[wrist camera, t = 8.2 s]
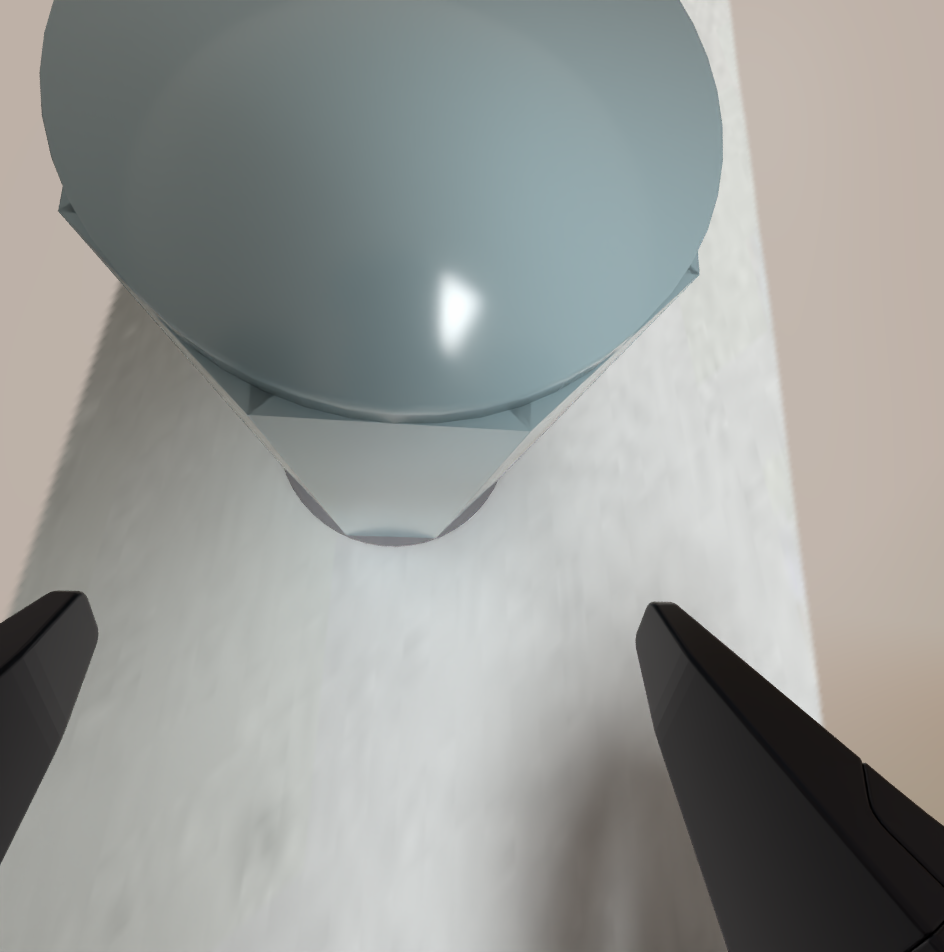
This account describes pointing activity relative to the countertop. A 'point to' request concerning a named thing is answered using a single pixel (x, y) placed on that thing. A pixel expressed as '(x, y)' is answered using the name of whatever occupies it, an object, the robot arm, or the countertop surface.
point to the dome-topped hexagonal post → (389, 214)
